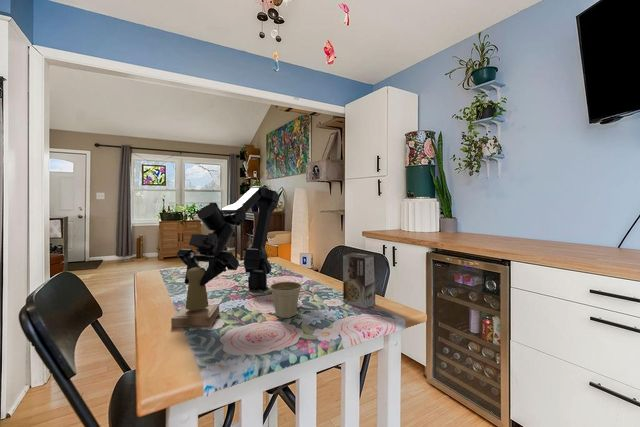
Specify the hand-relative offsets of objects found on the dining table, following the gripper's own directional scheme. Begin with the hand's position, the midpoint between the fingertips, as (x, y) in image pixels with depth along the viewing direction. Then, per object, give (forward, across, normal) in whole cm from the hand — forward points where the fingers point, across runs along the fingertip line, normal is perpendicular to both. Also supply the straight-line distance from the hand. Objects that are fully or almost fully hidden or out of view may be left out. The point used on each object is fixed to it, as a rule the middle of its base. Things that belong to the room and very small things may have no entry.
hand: (193, 284), depth 84 cm
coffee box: (-14, +40, +30) cm, 52 cm away
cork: (+4, 0, +6) cm, 7 cm away
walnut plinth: (+7, 0, +8) cm, 10 cm away
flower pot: (-2, +22, +17) cm, 28 cm away
